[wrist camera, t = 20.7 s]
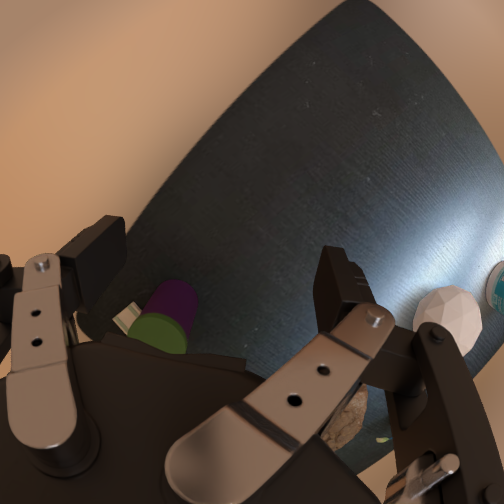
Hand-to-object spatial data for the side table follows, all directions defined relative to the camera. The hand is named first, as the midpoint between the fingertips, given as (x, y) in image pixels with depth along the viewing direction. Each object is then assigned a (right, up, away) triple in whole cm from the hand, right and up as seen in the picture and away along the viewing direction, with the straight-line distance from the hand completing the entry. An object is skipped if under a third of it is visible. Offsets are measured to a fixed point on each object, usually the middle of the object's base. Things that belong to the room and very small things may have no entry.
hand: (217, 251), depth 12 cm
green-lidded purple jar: (-7, -5, +20) cm, 22 cm away
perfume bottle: (+22, -8, +22) cm, 32 cm away
